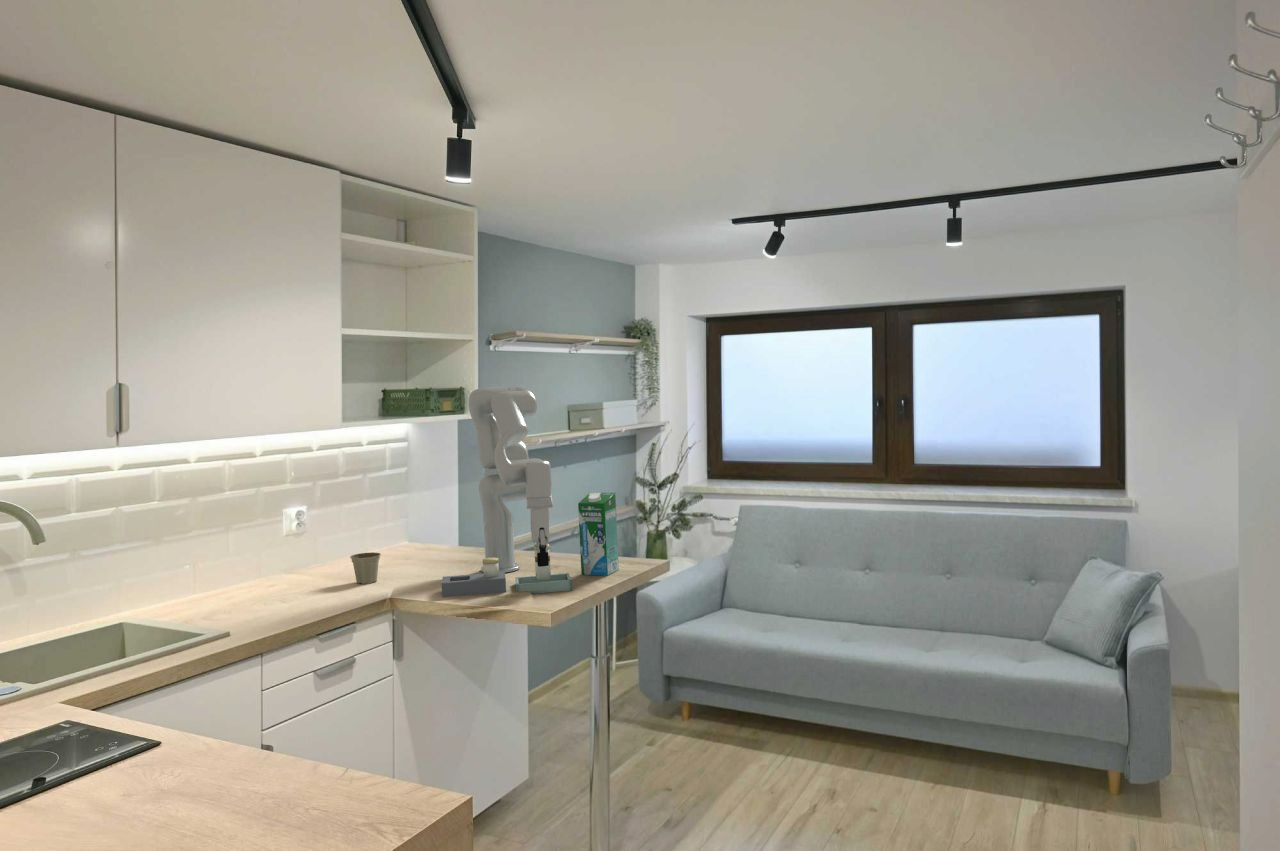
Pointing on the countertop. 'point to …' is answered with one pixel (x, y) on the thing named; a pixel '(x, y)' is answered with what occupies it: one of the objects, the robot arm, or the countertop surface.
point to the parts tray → (544, 584)
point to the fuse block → (476, 581)
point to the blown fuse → (543, 571)
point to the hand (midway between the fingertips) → (542, 563)
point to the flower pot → (366, 567)
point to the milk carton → (598, 534)
